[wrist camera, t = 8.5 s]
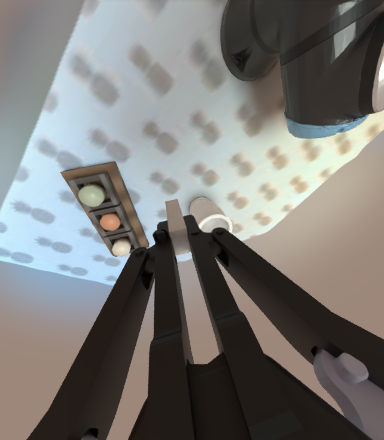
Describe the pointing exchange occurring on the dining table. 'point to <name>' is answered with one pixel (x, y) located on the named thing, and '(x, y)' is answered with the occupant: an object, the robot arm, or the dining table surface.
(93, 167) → the button board
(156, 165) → the dining table surface
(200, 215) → the jar
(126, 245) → the button cream
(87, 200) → the button sage
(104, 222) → the button terracotta
